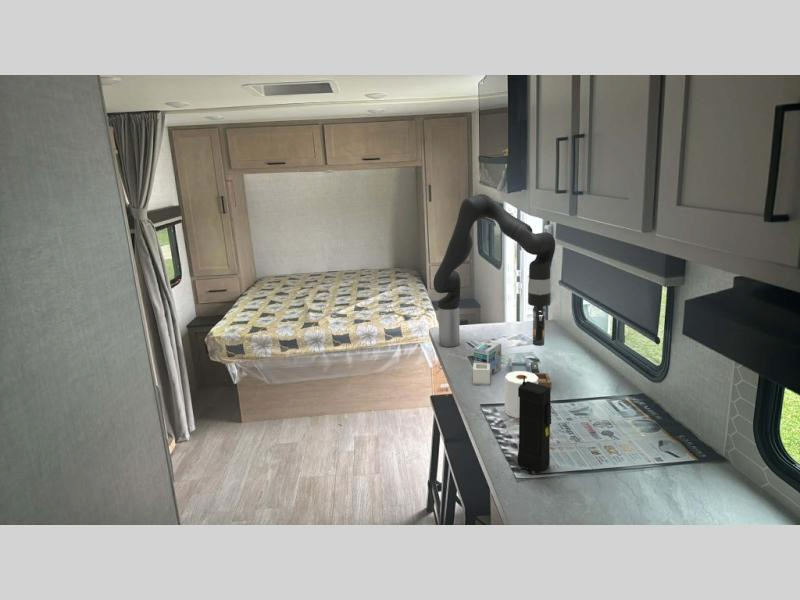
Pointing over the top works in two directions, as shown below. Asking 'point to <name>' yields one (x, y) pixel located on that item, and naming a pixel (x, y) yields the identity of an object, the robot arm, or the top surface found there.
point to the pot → (481, 374)
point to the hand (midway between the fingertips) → (538, 337)
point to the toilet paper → (515, 390)
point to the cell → (535, 342)
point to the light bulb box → (489, 355)
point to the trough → (543, 379)
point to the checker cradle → (522, 366)
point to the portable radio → (534, 426)
